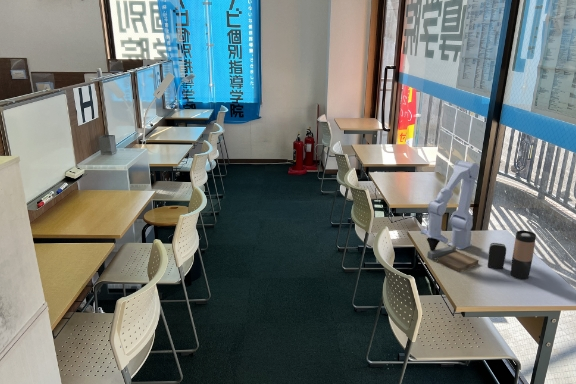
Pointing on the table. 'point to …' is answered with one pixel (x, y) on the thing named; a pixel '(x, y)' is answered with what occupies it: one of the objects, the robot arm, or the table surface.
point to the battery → (496, 255)
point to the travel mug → (522, 254)
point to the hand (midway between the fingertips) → (432, 251)
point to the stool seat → (457, 260)
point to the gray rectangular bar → (439, 253)
